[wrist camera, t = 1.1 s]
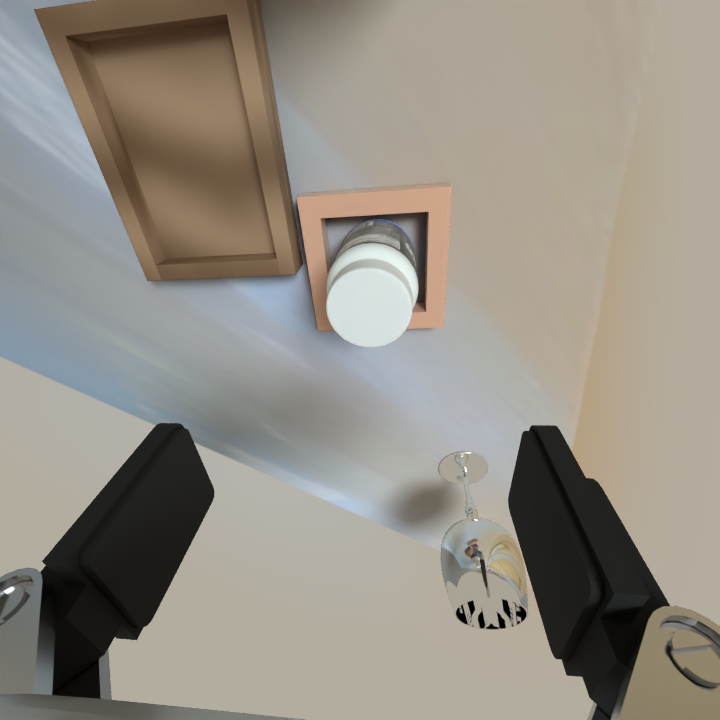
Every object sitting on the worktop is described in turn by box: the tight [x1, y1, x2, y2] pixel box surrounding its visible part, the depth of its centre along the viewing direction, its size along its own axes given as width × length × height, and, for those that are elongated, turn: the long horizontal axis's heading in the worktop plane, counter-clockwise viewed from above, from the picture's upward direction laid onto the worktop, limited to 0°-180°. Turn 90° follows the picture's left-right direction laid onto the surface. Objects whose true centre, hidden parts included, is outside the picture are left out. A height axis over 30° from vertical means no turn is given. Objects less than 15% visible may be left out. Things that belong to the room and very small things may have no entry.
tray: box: [34, 0, 303, 281], centre depth 20 cm, size 13×10×2 cm
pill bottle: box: [326, 219, 418, 347], centre depth 20 cm, size 5×5×8 cm
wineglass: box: [439, 452, 528, 630], centre depth 28 cm, size 6×6×12 cm
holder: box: [297, 183, 452, 331], centre depth 23 cm, size 9×9×2 cm
